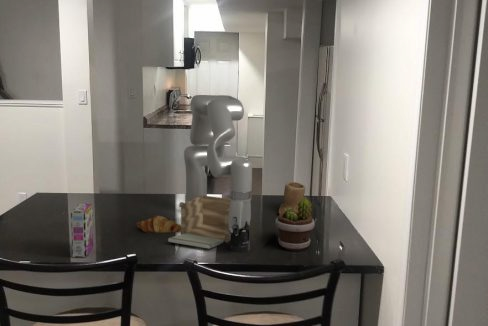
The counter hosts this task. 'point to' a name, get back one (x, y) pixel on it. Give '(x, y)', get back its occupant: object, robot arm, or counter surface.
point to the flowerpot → (295, 226)
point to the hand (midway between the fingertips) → (240, 241)
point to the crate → (206, 217)
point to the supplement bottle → (242, 240)
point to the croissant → (159, 225)
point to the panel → (196, 240)
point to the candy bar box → (82, 230)
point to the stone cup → (292, 196)
